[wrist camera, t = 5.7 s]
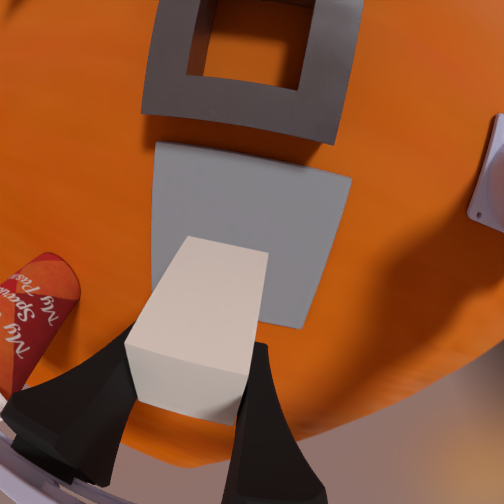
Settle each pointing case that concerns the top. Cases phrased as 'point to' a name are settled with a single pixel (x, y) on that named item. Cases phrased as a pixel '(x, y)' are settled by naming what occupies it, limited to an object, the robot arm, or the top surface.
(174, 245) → the rubber pad
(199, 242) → the ivory plug
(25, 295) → the coffee cup
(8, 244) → the top surface
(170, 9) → the metal frame
